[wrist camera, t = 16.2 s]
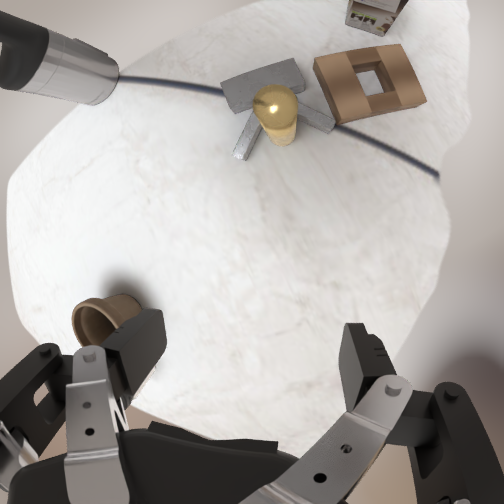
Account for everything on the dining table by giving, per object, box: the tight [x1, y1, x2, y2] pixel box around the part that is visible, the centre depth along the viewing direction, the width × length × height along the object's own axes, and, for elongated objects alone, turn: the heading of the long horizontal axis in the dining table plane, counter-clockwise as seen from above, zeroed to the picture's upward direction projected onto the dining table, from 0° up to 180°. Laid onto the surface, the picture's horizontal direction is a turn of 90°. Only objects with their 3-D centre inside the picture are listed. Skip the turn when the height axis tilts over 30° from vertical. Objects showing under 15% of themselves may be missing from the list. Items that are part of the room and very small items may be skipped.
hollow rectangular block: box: [313, 44, 427, 125], centre depth 29 cm, size 9×13×4 cm
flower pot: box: [72, 294, 142, 347], centre depth 41 cm, size 12×11×10 cm
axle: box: [252, 84, 298, 146], centre depth 27 cm, size 4×4×16 cm
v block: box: [220, 58, 336, 161], centre depth 33 cm, size 11×14×4 cm
